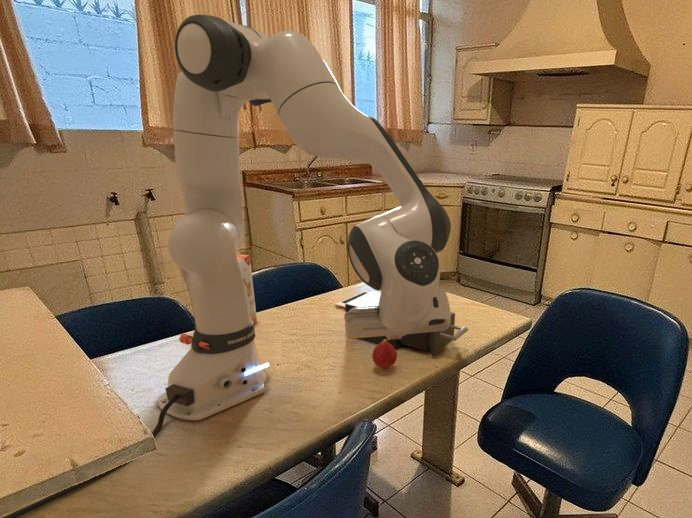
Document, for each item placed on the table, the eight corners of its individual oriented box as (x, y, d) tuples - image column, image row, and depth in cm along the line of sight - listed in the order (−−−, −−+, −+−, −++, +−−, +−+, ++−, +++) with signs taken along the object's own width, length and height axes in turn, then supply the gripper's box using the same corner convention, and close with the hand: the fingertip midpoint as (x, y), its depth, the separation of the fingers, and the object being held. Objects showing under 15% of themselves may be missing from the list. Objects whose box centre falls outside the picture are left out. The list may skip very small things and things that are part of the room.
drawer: (470, 343, 122) (471, 316, 119) (451, 360, 113) (452, 331, 110) (406, 327, 132) (406, 302, 129) (383, 341, 123) (383, 314, 120)
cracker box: (241, 341, 123) (230, 267, 116) (219, 341, 123) (206, 267, 116) (259, 321, 136) (250, 253, 129) (239, 321, 136) (229, 253, 129)
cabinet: (420, 332, 131) (420, 301, 127) (396, 349, 120) (395, 315, 117) (372, 320, 138) (372, 291, 135) (346, 335, 128) (345, 303, 125)
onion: (368, 372, 109) (367, 341, 106) (380, 361, 114) (379, 332, 111) (389, 377, 107) (389, 346, 104) (401, 366, 111) (400, 337, 108)
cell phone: (335, 305, 150) (335, 303, 149) (366, 292, 162) (366, 290, 162) (353, 310, 146) (353, 308, 145) (383, 296, 158) (383, 294, 158)
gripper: (346, 327, 78) (344, 355, 91) (459, 318, 83) (442, 346, 95) (343, 294, 81) (341, 326, 93) (453, 288, 85) (437, 318, 98)
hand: (393, 336), depth 94 cm, fingers closed
